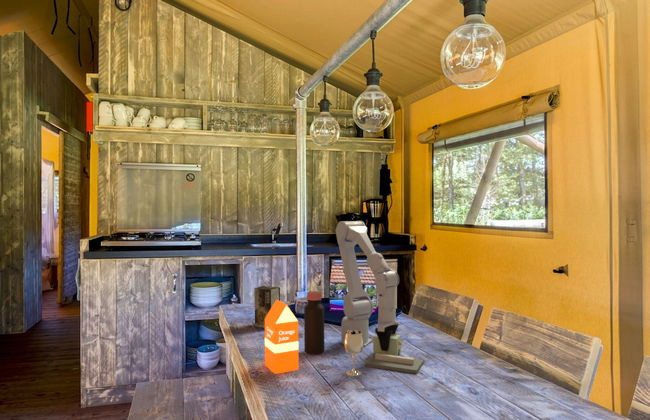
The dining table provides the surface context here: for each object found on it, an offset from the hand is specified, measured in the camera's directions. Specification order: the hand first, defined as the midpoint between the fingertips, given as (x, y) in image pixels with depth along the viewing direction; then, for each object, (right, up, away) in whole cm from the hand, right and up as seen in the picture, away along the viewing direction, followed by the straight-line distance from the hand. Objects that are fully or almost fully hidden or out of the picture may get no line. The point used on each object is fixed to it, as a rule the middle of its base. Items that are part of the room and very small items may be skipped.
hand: (387, 347), depth 147 cm
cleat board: (+1, -2, -10) cm, 10 cm away
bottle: (-24, -2, +2) cm, 24 cm away
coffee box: (-44, -2, +35) cm, 57 cm away
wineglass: (-12, -2, -17) cm, 21 cm away
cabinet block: (0, -2, 0) cm, 2 cm away
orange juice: (-34, -2, -12) cm, 36 cm away
